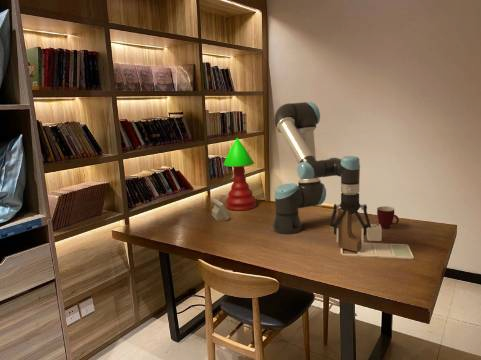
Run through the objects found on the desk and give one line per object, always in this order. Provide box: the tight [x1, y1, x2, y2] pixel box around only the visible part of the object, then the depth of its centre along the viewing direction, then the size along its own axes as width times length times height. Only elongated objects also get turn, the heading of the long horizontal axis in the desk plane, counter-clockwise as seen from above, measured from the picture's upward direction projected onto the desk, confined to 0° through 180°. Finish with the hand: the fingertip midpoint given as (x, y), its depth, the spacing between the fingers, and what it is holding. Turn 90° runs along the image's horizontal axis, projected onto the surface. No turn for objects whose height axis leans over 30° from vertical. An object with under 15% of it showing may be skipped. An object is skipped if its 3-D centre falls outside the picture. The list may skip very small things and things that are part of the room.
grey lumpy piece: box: [211, 198, 230, 221], centre depth 215 cm, size 16×9×11 cm, turn 11°
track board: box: [340, 242, 415, 260], centre depth 158 cm, size 29×14×1 cm, turn 76°
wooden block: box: [337, 207, 361, 253], centre depth 159 cm, size 9×4×18 cm, turn 49°
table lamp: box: [222, 137, 257, 212], centre depth 232 cm, size 20×20×45 cm
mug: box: [376, 205, 400, 230], centre depth 183 cm, size 10×8×10 cm
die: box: [366, 223, 383, 242], centre depth 171 cm, size 6×6×6 cm
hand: (349, 241), depth 160 cm, fingers closed on wooden block, 10 cm apart
